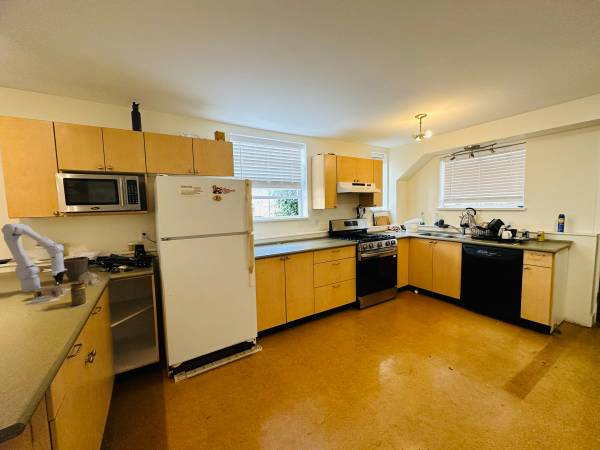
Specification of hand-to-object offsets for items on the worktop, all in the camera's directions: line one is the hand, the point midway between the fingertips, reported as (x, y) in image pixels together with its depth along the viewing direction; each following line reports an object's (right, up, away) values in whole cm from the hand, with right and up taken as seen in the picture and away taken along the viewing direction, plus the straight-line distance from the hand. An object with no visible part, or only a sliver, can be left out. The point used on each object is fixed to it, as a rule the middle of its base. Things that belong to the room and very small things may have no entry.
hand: (59, 283), depth 161 cm
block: (+8, -4, -14) cm, 17 cm away
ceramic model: (+13, -4, +7) cm, 15 cm away
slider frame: (+7, -4, -13) cm, 15 cm away
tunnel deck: (+8, -5, -14) cm, 17 cm away
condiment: (+34, -6, -24) cm, 42 cm away
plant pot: (-7, -2, +20) cm, 21 cm away
